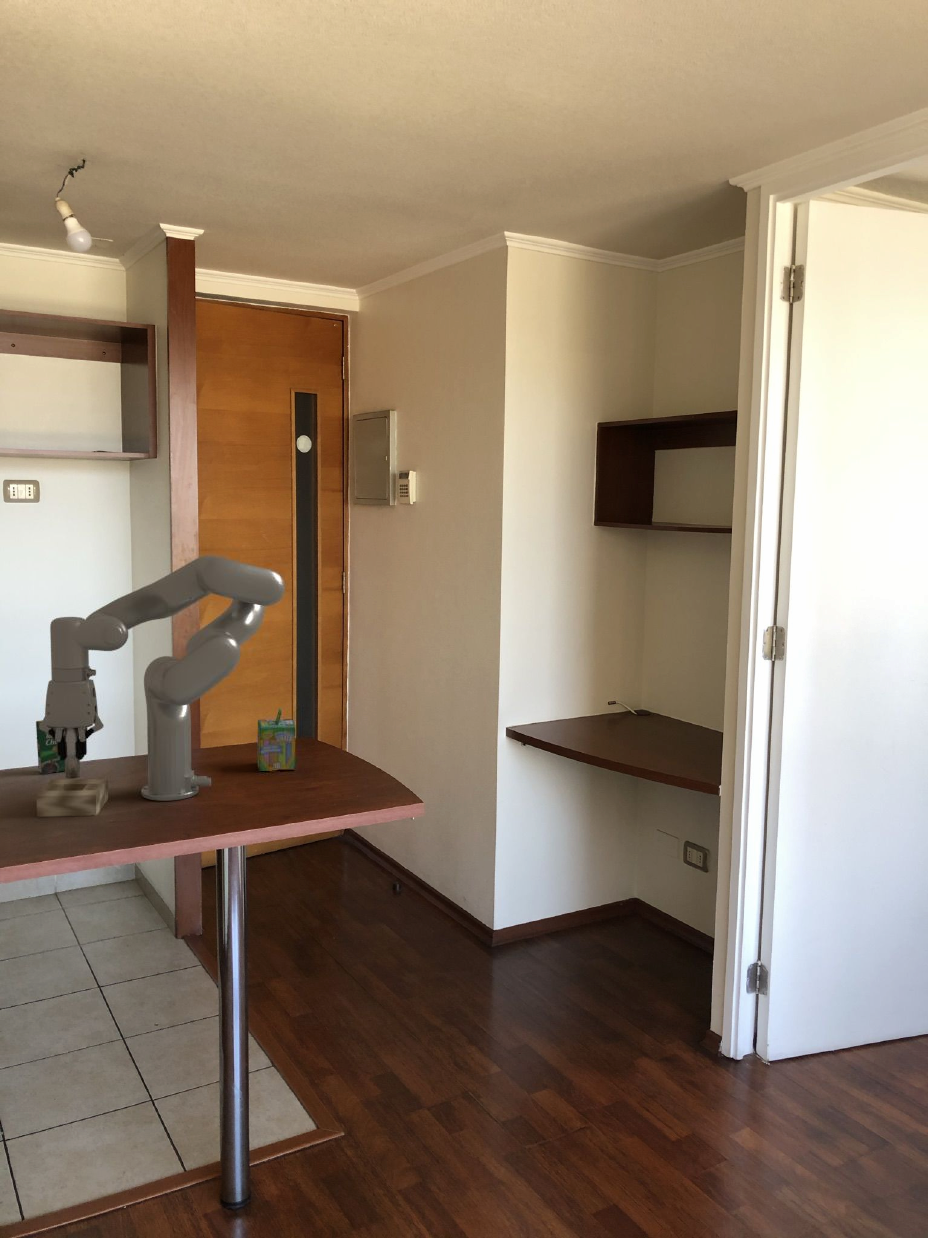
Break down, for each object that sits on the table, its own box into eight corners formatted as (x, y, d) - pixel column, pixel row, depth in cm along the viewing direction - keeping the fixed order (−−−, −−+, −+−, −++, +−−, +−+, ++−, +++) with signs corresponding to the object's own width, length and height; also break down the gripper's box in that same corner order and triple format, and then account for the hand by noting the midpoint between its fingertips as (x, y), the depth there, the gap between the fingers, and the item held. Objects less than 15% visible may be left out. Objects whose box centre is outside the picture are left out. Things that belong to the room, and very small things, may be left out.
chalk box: (257, 763, 255) (256, 706, 254) (293, 761, 258) (293, 705, 256) (258, 773, 246) (258, 714, 245) (295, 771, 249) (296, 713, 247)
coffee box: (40, 775, 240) (38, 722, 238) (37, 772, 242) (35, 720, 241) (74, 770, 245) (73, 718, 243) (71, 768, 247) (70, 716, 245)
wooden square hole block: (108, 798, 223) (107, 779, 223) (96, 815, 212) (95, 795, 211) (52, 799, 222) (51, 780, 221) (37, 816, 210) (36, 796, 209)
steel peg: (81, 774, 217) (80, 721, 216) (78, 778, 214) (77, 724, 213) (67, 775, 217) (66, 721, 216) (63, 778, 214) (62, 724, 213)
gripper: (113, 671, 218) (115, 753, 220) (35, 671, 216) (37, 754, 218) (106, 678, 210) (107, 762, 213) (25, 678, 208) (27, 763, 210)
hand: (72, 757), depth 215 cm, fingers closed on steel peg, 3 cm apart
